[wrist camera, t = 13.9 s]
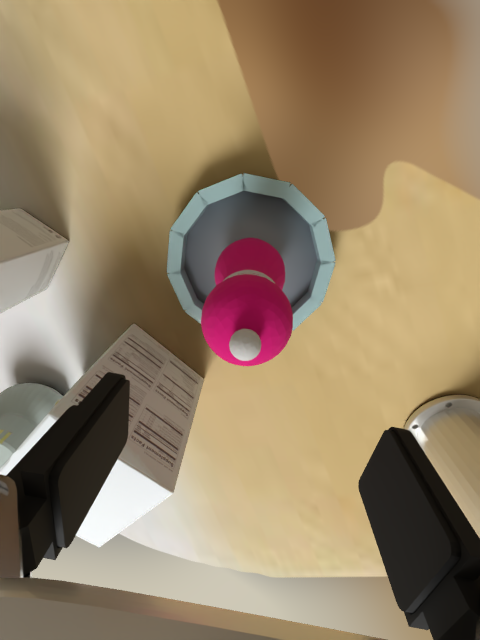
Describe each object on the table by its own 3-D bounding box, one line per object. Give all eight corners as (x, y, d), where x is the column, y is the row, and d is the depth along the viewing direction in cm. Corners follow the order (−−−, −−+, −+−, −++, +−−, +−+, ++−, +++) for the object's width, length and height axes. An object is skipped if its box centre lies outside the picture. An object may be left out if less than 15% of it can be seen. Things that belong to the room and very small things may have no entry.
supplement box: (152, 426, 46) (98, 551, 30) (82, 377, 43) (-21, 488, 27) (206, 378, 42) (176, 494, 26) (133, 320, 38) (46, 412, 22)
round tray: (347, 195, 31) (357, 196, 28) (302, 339, 38) (306, 352, 35) (182, 162, 30) (175, 159, 27) (169, 315, 38) (162, 325, 35)
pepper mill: (292, 276, 33) (336, 376, 15) (239, 304, 35) (222, 424, 17) (263, 220, 31) (274, 258, 13) (207, 253, 33) (148, 328, 15)
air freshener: (78, 431, 47) (36, 488, 38) (28, 426, 47) (-26, 481, 38) (67, 376, 43) (16, 426, 34) (13, 371, 43) (-53, 419, 34)
